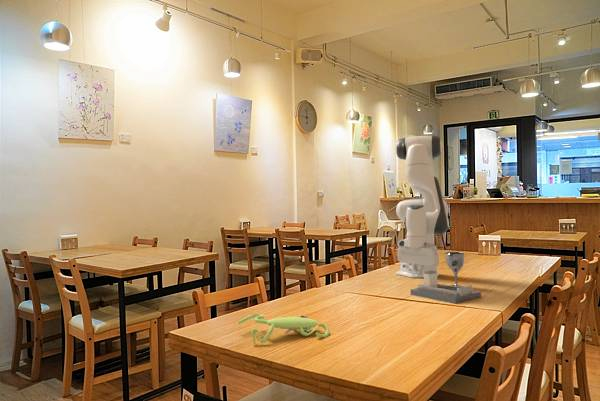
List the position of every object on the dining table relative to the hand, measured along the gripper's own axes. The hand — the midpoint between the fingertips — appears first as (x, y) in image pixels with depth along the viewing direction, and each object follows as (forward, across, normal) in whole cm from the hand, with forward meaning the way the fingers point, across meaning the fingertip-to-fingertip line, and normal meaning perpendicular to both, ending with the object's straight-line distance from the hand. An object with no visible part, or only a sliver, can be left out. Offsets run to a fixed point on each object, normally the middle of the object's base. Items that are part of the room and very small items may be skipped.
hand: (418, 274), depth 192 cm
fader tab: (+5, -6, 0) cm, 8 cm away
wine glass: (+7, -5, -18) cm, 20 cm away
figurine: (+9, -12, +77) cm, 78 cm away
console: (+7, -13, 0) cm, 15 cm away
